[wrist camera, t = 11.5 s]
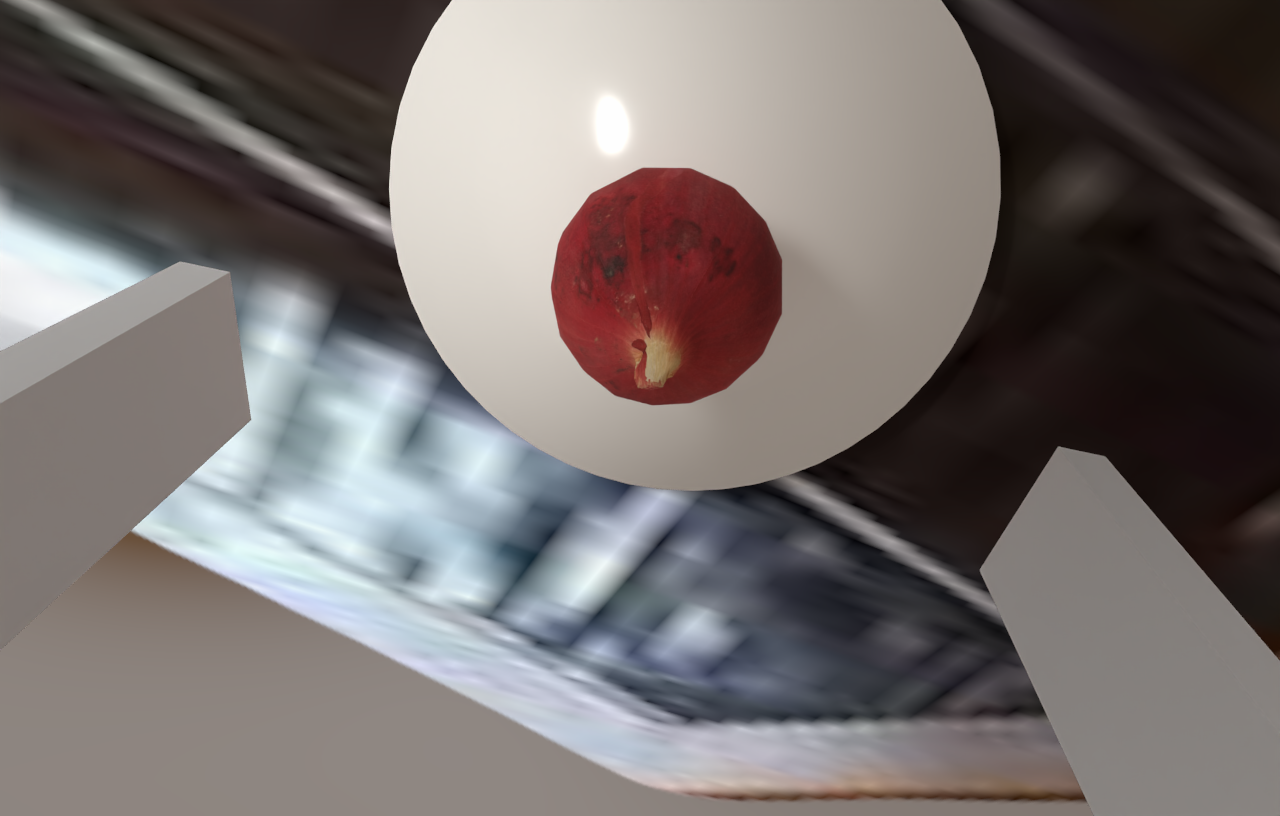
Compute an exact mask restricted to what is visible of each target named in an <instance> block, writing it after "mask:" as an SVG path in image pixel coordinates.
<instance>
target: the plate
mask: <svg viewBox="0 0 1280 816" xmlns="http://www.w3.org/2000/svg"><path fill="white" fill-rule="evenodd" d="M641 168H692V169H694V170H696V171H698V172H701V173H703V174H705V175H707V176H710V177H712V178H714V179H717V180H719V181H721V182H723V183H726V184H728V185H730V186H732V187H734V188H735V189H736V190H737V191H738V192H739V193H740V194H741V196H742V197H743V198H744V199H745V200H746V201H747V202H748V203H749V204H750V205H751V206H752V207H753V208H754V209H755V211H756V212H757V213H758V214H759V215H760V216H761V217H762V218H763V219H764V220H765V221H766V223H767V226H768V228H769V230H770V233H771V235H772V237H773V240H774V242H775V244H776V247H777V249H778V251H779V254H780V256H781V258H782V315H781V317H780V319H779V321H778V323H777V325H776V327H775V330H774V332H773V334H772V336H771V338H770V340H769V342H768V344H767V347H766V349H765V351H764V353H763V355H762V356H761V357H760V358H759V359H758V360H757V361H756V362H755V363H754V364H753V365H752V366H751V367H750V368H749V369H748V370H747V371H745V372H744V373H743V374H742V375H741V376H740V377H739V378H738V379H737V380H736V381H734V382H733V383H732V384H731V385H730V386H729V387H728V388H727V389H725V390H722V391H720V392H717V393H715V394H712V395H710V396H707V397H705V398H702V399H700V400H697V401H695V402H692V403H687V404H669V405H648V404H645V403H641V402H637V401H633V400H629V399H625V398H621V397H617V396H615V395H613V394H612V393H611V392H609V391H608V390H607V389H606V388H605V387H603V386H602V385H601V384H600V383H598V382H597V381H596V380H594V379H593V378H592V377H591V376H589V375H588V374H587V373H586V372H585V371H584V370H583V369H582V368H581V366H580V365H579V364H578V362H577V361H576V359H575V358H574V356H573V355H572V353H571V352H570V350H569V349H568V347H567V346H566V344H565V343H564V341H563V340H562V339H561V337H560V334H559V329H558V324H557V320H556V315H555V310H554V305H553V301H552V294H551V282H552V276H553V270H554V264H555V258H556V252H557V246H558V243H559V240H560V238H561V235H562V233H563V231H564V230H565V228H566V227H567V226H568V224H569V223H570V221H571V220H572V219H573V217H574V216H575V215H576V213H577V212H578V210H579V209H580V208H581V206H582V205H583V204H584V202H585V201H586V200H587V198H588V197H589V195H590V194H591V193H593V192H595V191H597V190H599V189H601V188H603V187H605V186H607V185H609V184H611V183H613V182H615V181H617V180H619V179H621V178H622V177H624V176H626V175H628V174H630V173H632V172H634V171H636V170H638V169H641ZM389 194H390V209H391V223H392V231H393V236H394V241H395V246H396V251H397V256H398V261H399V265H400V268H401V271H402V275H403V278H404V281H405V284H406V287H407V290H408V293H409V296H410V299H411V301H412V303H413V305H414V308H415V310H416V312H417V314H418V316H419V319H420V321H421V323H422V325H423V327H424V329H425V331H426V333H427V335H428V336H429V338H430V339H431V341H432V343H433V344H434V346H435V348H436V349H437V351H438V353H439V354H440V356H441V358H442V359H443V361H444V362H445V363H446V365H447V366H448V367H449V368H450V370H451V371H452V372H453V374H454V375H455V376H456V377H457V379H458V380H459V381H460V383H461V384H462V385H463V386H464V388H465V389H466V390H467V391H468V392H469V393H470V394H471V395H472V396H473V397H474V398H475V399H476V400H477V401H478V402H479V403H480V404H481V405H482V406H483V407H484V408H485V409H486V410H487V411H488V412H489V413H490V414H492V415H493V416H494V417H495V418H496V419H498V420H499V421H500V422H501V423H502V424H504V425H505V426H506V427H507V428H509V429H510V430H511V431H512V432H514V433H515V434H517V435H518V436H520V437H521V438H523V439H524V440H526V441H527V442H529V443H530V444H532V445H533V446H535V447H536V448H538V449H539V450H541V451H543V452H545V453H547V454H549V455H551V456H553V457H555V458H557V459H559V460H561V461H563V462H565V463H567V464H569V465H571V466H574V467H577V468H579V469H582V470H584V471H587V472H589V473H592V474H595V475H597V476H601V477H604V478H608V479H612V480H615V481H619V482H623V483H626V484H631V485H638V486H644V487H650V488H656V489H667V490H685V491H698V490H718V489H728V488H735V487H741V486H747V485H754V484H758V483H762V482H766V481H769V480H773V479H777V478H781V477H784V476H788V475H790V474H793V473H796V472H798V471H801V470H803V469H806V468H809V467H811V466H814V465H816V464H819V463H821V462H823V461H825V460H826V459H828V458H830V457H832V456H834V455H836V454H838V453H840V452H842V451H844V450H846V449H848V448H849V447H851V446H852V445H854V444H855V443H857V442H858V441H860V440H861V439H863V438H864V437H866V436H867V435H869V434H870V433H872V432H873V431H875V430H876V429H878V428H879V427H880V426H881V425H882V424H884V423H885V422H886V421H887V420H888V419H890V418H891V417H892V416H893V415H894V414H895V413H897V412H898V411H899V410H900V409H901V408H902V407H904V406H905V405H906V404H907V403H908V402H909V400H910V399H911V398H912V397H913V396H914V395H915V394H916V393H917V392H918V391H919V390H920V389H921V388H922V387H923V385H924V384H925V383H926V382H927V381H928V380H929V379H930V378H931V376H932V375H933V374H934V372H935V371H936V370H937V368H938V367H939V365H940V364H941V363H942V361H943V360H944V359H945V357H946V356H947V354H948V353H949V352H950V350H951V349H952V347H953V346H954V344H955V342H956V340H957V338H958V337H959V335H960V333H961V331H962V329H963V328H964V326H965V324H966V322H967V321H968V319H969V317H970V315H971V313H972V310H973V308H974V305H975V303H976V300H977V298H978V295H979V293H980V290H981V288H982V285H983V283H984V280H985V278H986V274H987V270H988V266H989V262H990V259H991V255H992V251H993V247H994V243H995V239H996V232H997V224H998V215H999V207H1000V199H1001V186H1000V151H999V145H998V139H997V133H996V127H995V120H994V114H993V109H992V106H991V103H990V100H989V96H988V93H987V90H986V87H985V84H984V81H983V78H982V74H981V71H980V68H979V65H978V63H977V61H976V59H975V57H974V55H973V53H972V51H971V49H970V47H969V45H968V43H967V41H966V39H965V37H964V35H963V33H962V31H961V29H960V27H959V25H958V23H957V22H956V21H955V19H954V18H953V16H952V15H951V14H950V12H949V11H948V9H947V8H946V7H945V5H944V4H943V2H942V1H941V0H452V1H451V2H450V4H449V5H448V7H447V8H446V10H445V11H444V13H443V14H442V15H441V17H440V18H439V20H438V21H437V23H436V24H435V25H434V27H433V28H432V30H431V32H430V34H429V36H428V38H427V40H426V42H425V44H424V46H423V48H422V50H421V52H420V54H419V56H418V58H417V60H416V62H415V64H414V66H413V69H412V72H411V75H410V77H409V80H408V83H407V86H406V89H405V92H404V95H403V98H402V101H401V104H400V107H399V112H398V117H397V122H396V127H395V132H394V138H393V143H392V148H391V164H390V181H389Z"/></svg>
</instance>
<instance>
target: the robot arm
mask: <svg viewBox="0 0 1280 816" xmlns="http://www.w3.org/2000/svg"><path fill="white" fill-rule="evenodd" d="M250 420H251V416H250V409H249V402H248V395H247V388H246V381H245V374H244V367H243V360H242V353H241V346H240V339H239V332H238V325H237V318H236V311H235V304H234V297H233V291H232V284H231V277H230V272H227V271H222V270H218V269H213V268H208V267H203V266H199V265H194V264H189V263H184V262H178V263H176V264H174V265H172V266H170V267H168V268H166V269H164V270H162V271H160V272H158V273H156V274H154V275H152V276H150V277H148V278H146V279H144V280H142V281H140V282H138V283H136V284H134V285H132V286H130V287H128V288H126V289H124V290H122V291H120V292H118V293H116V294H114V295H112V296H110V297H108V298H106V299H104V300H102V301H100V302H98V303H96V304H94V305H92V306H90V307H88V308H86V309H84V310H82V311H80V312H78V313H76V314H74V315H72V316H70V317H68V318H66V319H64V320H62V321H60V322H58V323H56V324H54V325H52V326H50V327H48V328H46V329H44V330H42V331H40V332H38V333H36V334H34V335H32V336H30V337H28V338H26V339H24V340H22V341H20V342H18V343H16V344H14V345H12V346H10V347H8V348H6V349H4V350H2V351H0V650H1V649H2V648H3V647H4V646H6V645H7V644H8V643H9V642H10V641H11V640H12V639H13V638H14V637H15V636H16V635H18V633H20V632H21V631H22V630H23V629H24V628H25V627H26V626H27V625H28V624H29V623H30V622H32V621H33V620H34V619H35V618H36V617H37V616H38V615H39V614H40V613H41V612H43V611H44V610H45V609H46V608H47V607H48V606H49V605H50V604H51V603H52V602H53V601H54V600H56V599H57V598H58V597H59V596H60V595H61V594H62V593H63V592H64V591H65V590H67V589H68V588H69V587H70V586H71V585H72V584H73V583H74V582H75V581H76V580H77V579H78V578H80V577H81V576H82V575H83V574H84V573H85V572H86V571H87V570H88V569H89V568H90V567H92V566H93V565H94V564H95V563H96V562H97V561H98V560H99V559H100V558H101V557H102V556H103V555H105V554H106V553H107V552H108V551H109V550H110V549H111V548H112V547H113V546H114V545H115V544H117V543H118V542H119V541H120V540H121V539H122V538H123V537H124V536H125V535H126V534H127V533H129V532H130V531H131V530H132V529H133V528H134V527H135V526H136V525H137V524H138V523H139V522H141V521H142V520H143V519H144V518H145V517H146V516H147V515H148V514H149V513H150V512H151V511H153V510H154V509H155V508H156V507H157V506H158V505H159V504H160V503H161V502H162V501H163V500H164V499H166V498H167V497H168V496H169V495H170V494H171V493H172V492H173V491H174V490H175V489H176V488H178V487H179V486H180V485H181V484H182V483H183V482H184V481H185V480H186V479H187V478H188V477H190V476H191V475H192V474H193V473H194V472H195V471H196V470H197V469H198V468H199V467H200V466H202V465H203V464H204V463H205V462H206V461H207V460H208V459H209V458H210V457H211V456H212V455H213V454H215V453H216V452H217V451H218V450H219V449H220V448H221V447H222V446H223V445H224V444H225V443H227V442H228V441H229V440H230V439H231V438H232V437H233V436H234V435H235V434H236V433H237V432H239V431H240V430H241V429H242V428H243V427H244V426H245V425H246V424H247V423H248V422H249V421H250ZM980 573H981V575H982V577H983V579H984V581H985V583H986V586H987V588H988V590H989V592H990V594H991V596H992V598H993V601H994V603H995V605H996V607H997V609H998V611H999V613H1000V616H1001V618H1002V620H1003V622H1004V624H1005V626H1006V629H1007V631H1008V633H1009V635H1010V637H1011V639H1012V641H1013V644H1014V646H1015V648H1016V650H1017V652H1018V654H1019V656H1020V659H1021V661H1022V663H1023V665H1024V667H1025V669H1026V672H1027V674H1028V676H1029V678H1030V680H1031V682H1032V684H1033V687H1034V689H1035V691H1036V693H1037V695H1038V697H1039V699H1040V702H1041V704H1042V706H1043V708H1044V710H1045V712H1046V715H1047V717H1048V719H1049V721H1050V723H1051V725H1052V727H1053V730H1054V732H1055V734H1056V736H1057V738H1058V740H1059V742H1060V745H1061V747H1062V749H1063V751H1064V753H1065V755H1066V758H1067V760H1068V762H1069V764H1070V766H1071V768H1072V770H1073V773H1074V775H1075V777H1076V779H1077V781H1078V783H1079V786H1080V788H1081V790H1082V792H1083V794H1084V796H1085V798H1086V801H1087V803H1088V805H1089V807H1090V809H1091V811H1092V813H1093V816H1280V661H1279V660H1278V658H1277V657H1276V656H1275V655H1274V654H1273V652H1272V651H1271V650H1270V649H1269V648H1268V647H1267V645H1266V644H1265V643H1264V642H1263V641H1262V640H1261V638H1260V637H1259V636H1258V635H1257V634H1256V633H1255V631H1254V630H1253V629H1252V628H1251V627H1250V626H1249V624H1248V623H1247V622H1246V621H1245V620H1244V619H1243V617H1242V616H1241V615H1240V614H1239V613H1238V611H1237V610H1236V609H1235V608H1234V607H1233V606H1232V604H1231V603H1230V602H1229V601H1228V600H1227V599H1226V597H1225V596H1224V595H1223V594H1222V593H1221V592H1220V590H1219V589H1218V588H1217V587H1216V586H1215V585H1214V583H1213V582H1212V581H1211V580H1210V579H1209V577H1208V576H1207V575H1206V574H1205V573H1204V572H1203V570H1202V569H1201V568H1200V567H1199V566H1198V565H1197V563H1196V562H1195V561H1194V560H1193V559H1192V558H1191V556H1190V555H1189V554H1188V553H1187V552H1186V551H1185V549H1184V548H1183V547H1182V546H1181V545H1180V543H1179V542H1178V541H1177V540H1176V539H1175V538H1174V536H1173V535H1172V534H1171V533H1170V532H1169V531H1168V529H1167V528H1166V527H1165V526H1164V525H1163V524H1162V522H1161V521H1160V520H1159V519H1158V518H1157V517H1156V515H1155V514H1154V513H1153V512H1152V511H1151V510H1150V508H1149V507H1148V506H1147V505H1146V504H1145V502H1144V501H1143V500H1142V499H1141V498H1140V497H1139V495H1138V494H1137V493H1136V492H1135V491H1134V490H1133V488H1132V487H1131V486H1130V485H1129V484H1128V483H1127V481H1126V480H1125V479H1124V478H1123V477H1122V476H1121V474H1120V473H1119V472H1118V471H1117V470H1116V468H1115V467H1114V466H1113V465H1112V464H1111V463H1110V461H1109V460H1108V459H1107V458H1106V457H1105V456H1101V455H1096V454H1091V453H1087V452H1082V451H1077V450H1072V449H1068V448H1063V447H1057V449H1056V451H1055V452H1054V454H1053V455H1052V457H1051V458H1050V460H1049V462H1048V463H1047V465H1046V466H1045V468H1044V469H1043V471H1042V473H1041V474H1040V476H1039V477H1038V479H1037V480H1036V482H1035V484H1034V485H1033V487H1032V488H1031V490H1030V491H1029V493H1028V495H1027V496H1026V498H1025V499H1024V501H1023V502H1022V504H1021V506H1020V507H1019V509H1018V510H1017V512H1016V513H1015V515H1014V517H1013V518H1012V520H1011V521H1010V523H1009V524H1008V526H1007V528H1006V529H1005V531H1004V532H1003V534H1002V535H1001V537H1000V539H999V540H998V542H997V543H996V545H995V546H994V548H993V550H992V551H991V553H990V554H989V556H988V557H987V559H986V561H985V562H984V564H983V565H982V567H981V568H980Z"/></svg>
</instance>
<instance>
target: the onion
mask: <svg viewBox="0 0 1280 816" xmlns="http://www.w3.org/2000/svg"><path fill="white" fill-rule="evenodd" d="M551 294H552V301H553V305H554V310H555V315H556V320H557V324H558V329H559V334H560V337H561V339H562V340H563V341H564V343H565V344H566V346H567V347H568V349H569V350H570V352H571V353H572V355H573V356H574V358H575V359H576V361H577V362H578V364H579V365H580V366H581V368H582V369H583V370H584V371H585V372H586V373H587V374H588V375H589V376H591V377H592V378H593V379H594V380H596V381H597V382H598V383H600V384H601V385H602V386H603V387H605V388H606V389H607V390H608V391H609V392H611V393H612V394H613V395H615V396H617V397H621V398H625V399H629V400H633V401H637V402H641V403H645V404H648V405H669V404H687V403H692V402H695V401H697V400H700V399H702V398H705V397H707V396H710V395H712V394H715V393H717V392H720V391H722V390H725V389H727V388H728V387H729V386H730V385H731V384H732V383H733V382H734V381H736V380H737V379H738V378H739V377H740V376H741V375H742V374H743V373H744V372H745V371H747V370H748V369H749V368H750V367H751V366H752V365H753V364H754V363H755V362H756V361H757V360H758V359H759V358H760V357H761V356H762V355H763V353H764V351H765V349H766V347H767V344H768V342H769V340H770V338H771V336H772V334H773V332H774V330H775V327H776V325H777V323H778V321H779V319H780V317H781V315H782V258H781V256H780V254H779V251H778V249H777V247H776V244H775V242H774V240H773V237H772V235H771V233H770V230H769V228H768V226H767V223H766V221H765V220H764V219H763V218H762V217H761V216H760V215H759V214H758V213H757V212H756V211H755V209H754V208H753V207H752V206H751V205H750V204H749V203H748V202H747V201H746V200H745V199H744V198H743V197H742V196H741V194H740V193H739V192H738V191H737V190H736V189H735V188H734V187H732V186H730V185H728V184H726V183H723V182H721V181H719V180H717V179H714V178H712V177H710V176H707V175H705V174H703V173H701V172H698V171H696V170H694V169H692V168H641V169H638V170H636V171H634V172H632V173H630V174H628V175H626V176H624V177H622V178H621V179H619V180H617V181H615V182H613V183H611V184H609V185H607V186H605V187H603V188H601V189H599V190H597V191H595V192H593V193H591V194H590V195H589V197H588V198H587V200H586V201H585V202H584V204H583V205H582V206H581V208H580V209H579V210H578V212H577V213H576V215H575V216H574V217H573V219H572V220H571V221H570V223H569V224H568V226H567V227H566V228H565V230H564V231H563V233H562V235H561V238H560V240H559V243H558V246H557V252H556V258H555V264H554V270H553V276H552V282H551Z"/></svg>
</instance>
